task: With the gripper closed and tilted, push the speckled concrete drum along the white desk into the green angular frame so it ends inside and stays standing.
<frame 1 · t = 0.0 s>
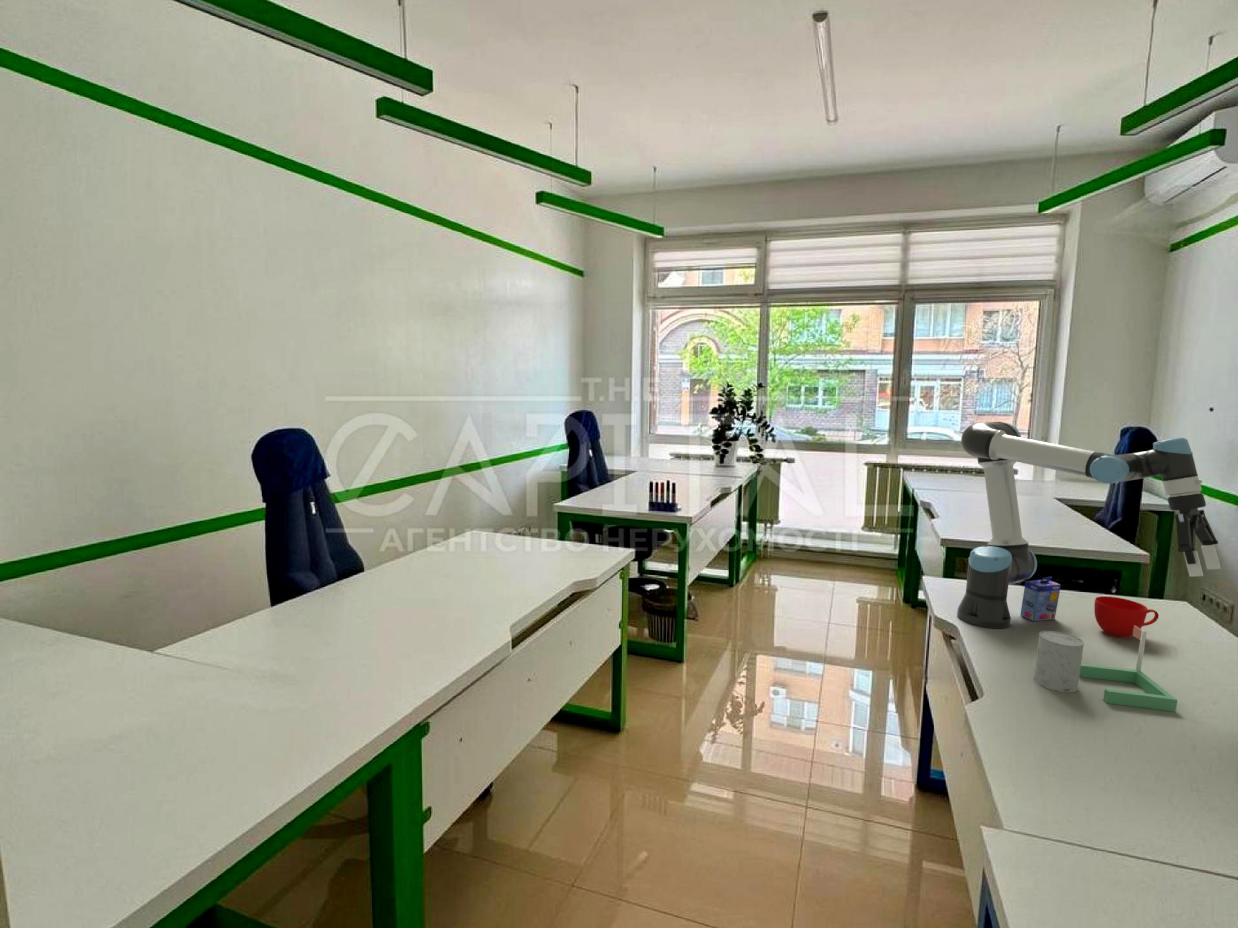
hand: (1205, 572, 172), 28 cm above the table, tool tilted 20°, fingers open, 13 cm apart
green angular frame: (1121, 691, 162), on the table
ceramic cup: (1123, 635, 200), on the table
ink cartridge box: (1037, 618, 213), on the table, touching arm
speckled concrete drum: (1055, 684, 166), on the table
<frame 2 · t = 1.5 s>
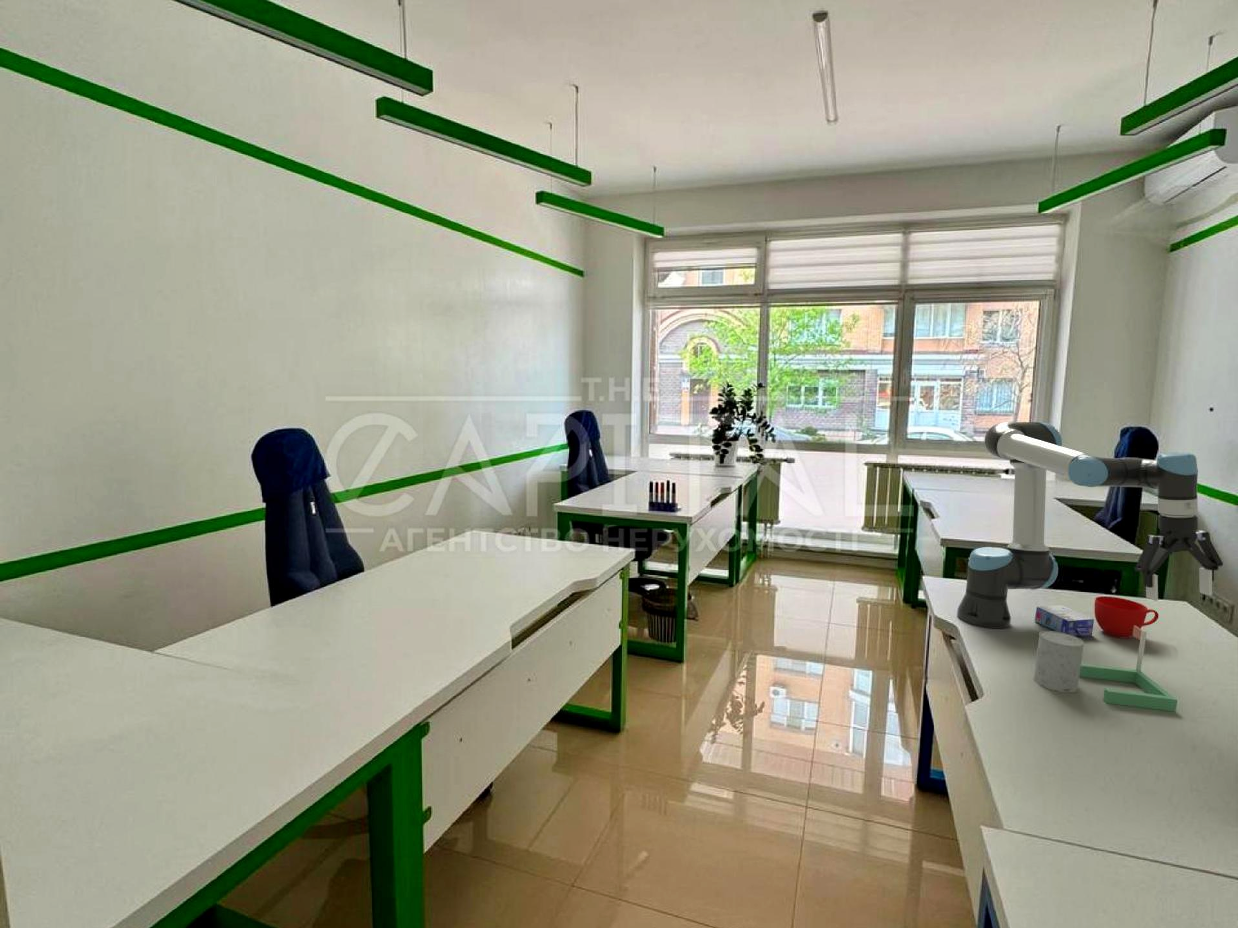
hand: (1178, 596, 163), 24 cm above the table, tool pointing down, fingers open, 13 cm apart
ink cartridge box: (1047, 613, 209), point 3 cm above the table
everything else where it was.
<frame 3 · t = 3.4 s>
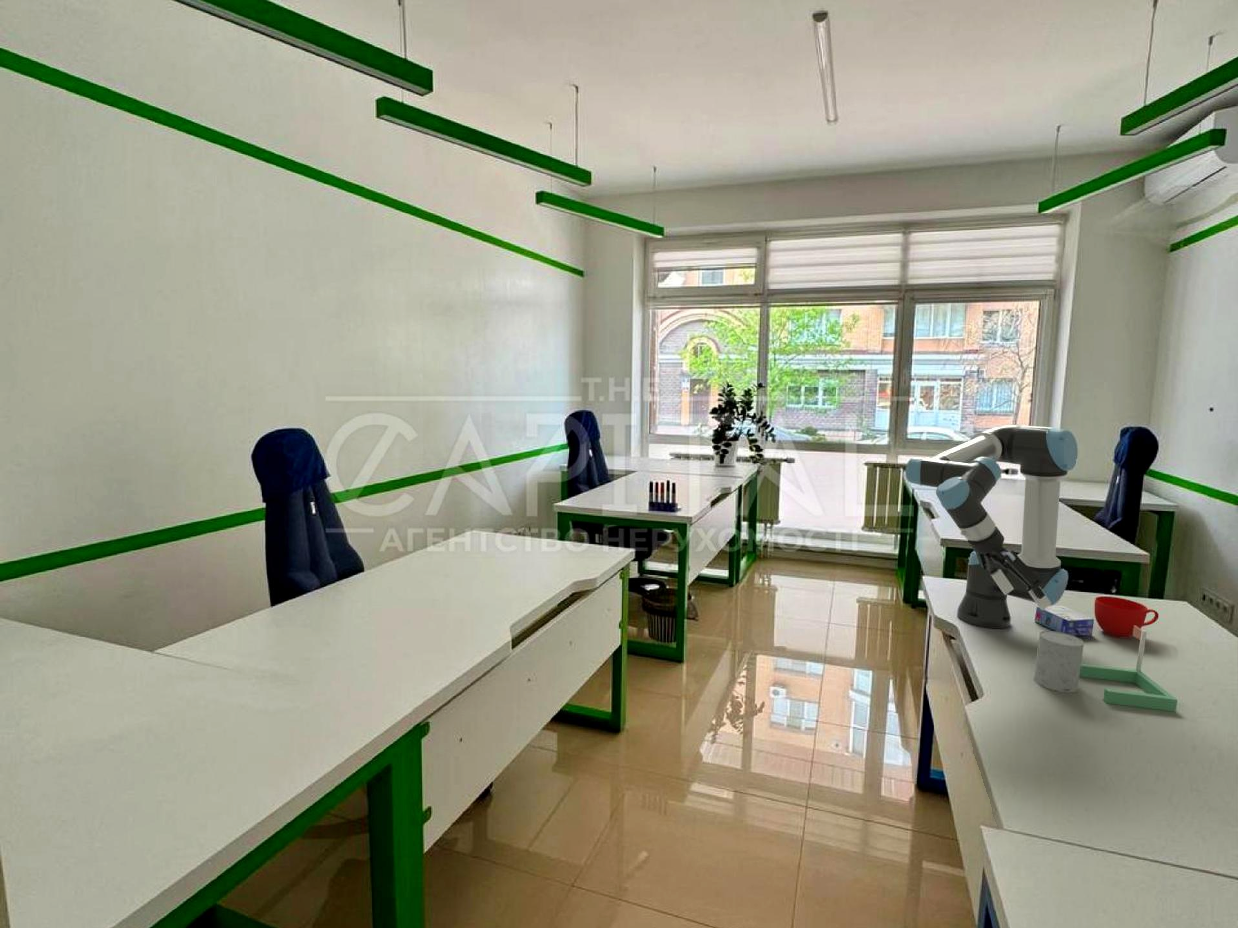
hand: (1026, 598, 163), 22 cm above the table, tool tilted 40°, fingers open, 13 cm apart
nothing on the table moved.
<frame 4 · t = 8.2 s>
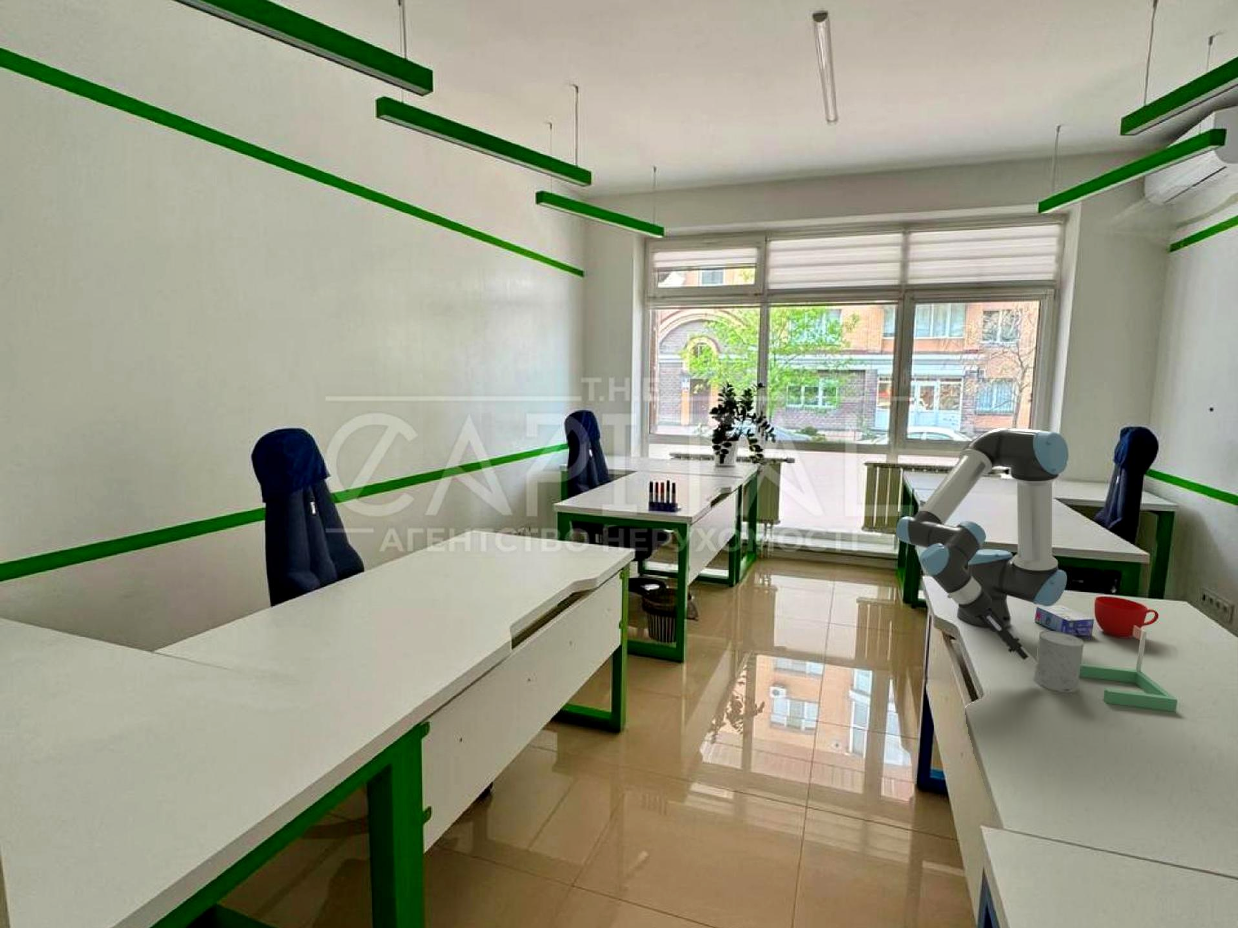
hand: (1032, 665, 166), 4 cm above the table, tool tilted 45°, fingers closed
speckled concrete drum: (1055, 684, 166), on the table, touching gripper
everything else where it was.
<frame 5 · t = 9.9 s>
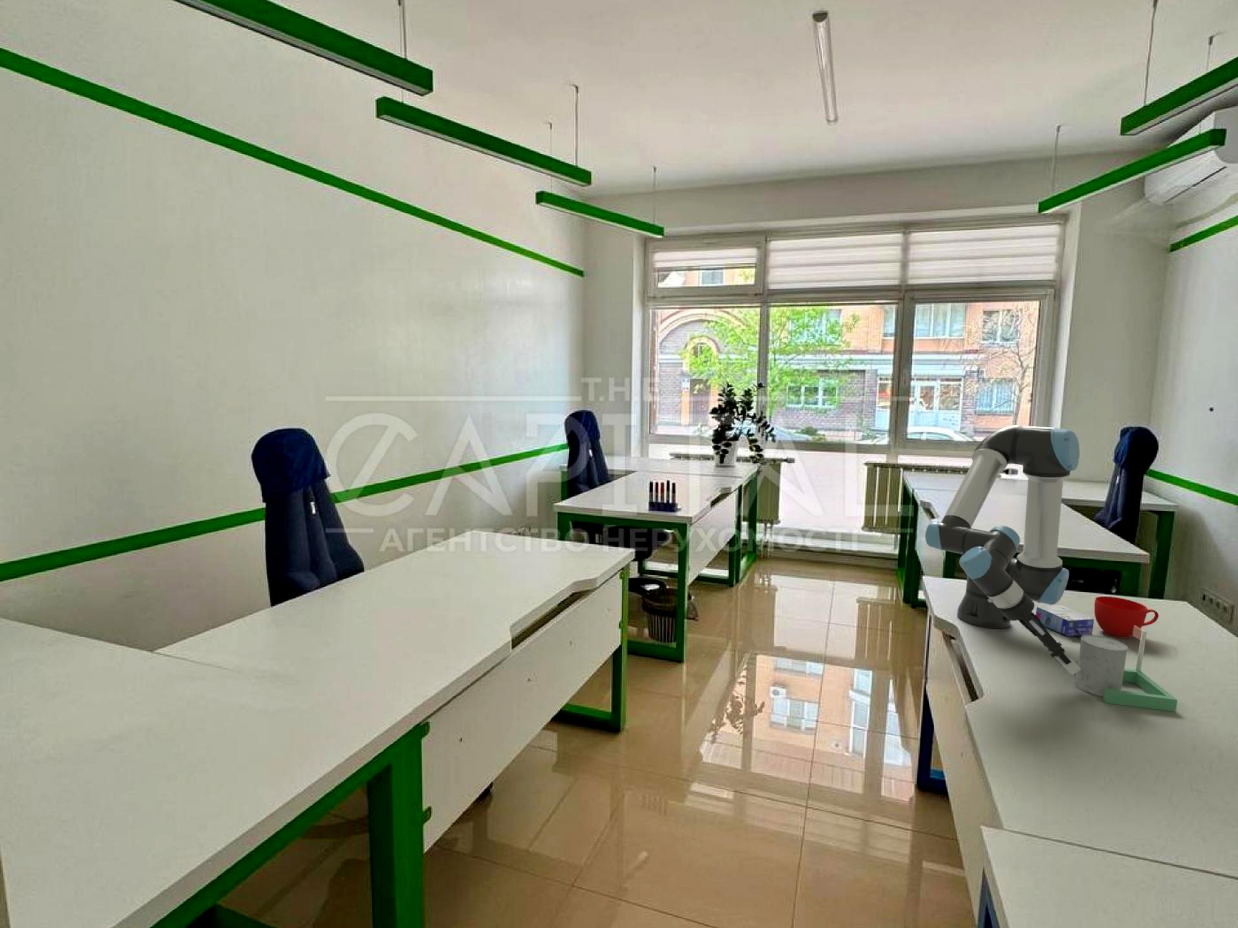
hand: (1075, 670, 163), 4 cm above the table, tool tilted 45°, fingers closed
speckled concrete drum: (1097, 688, 164), on the table, touching gripper
everything else where it was.
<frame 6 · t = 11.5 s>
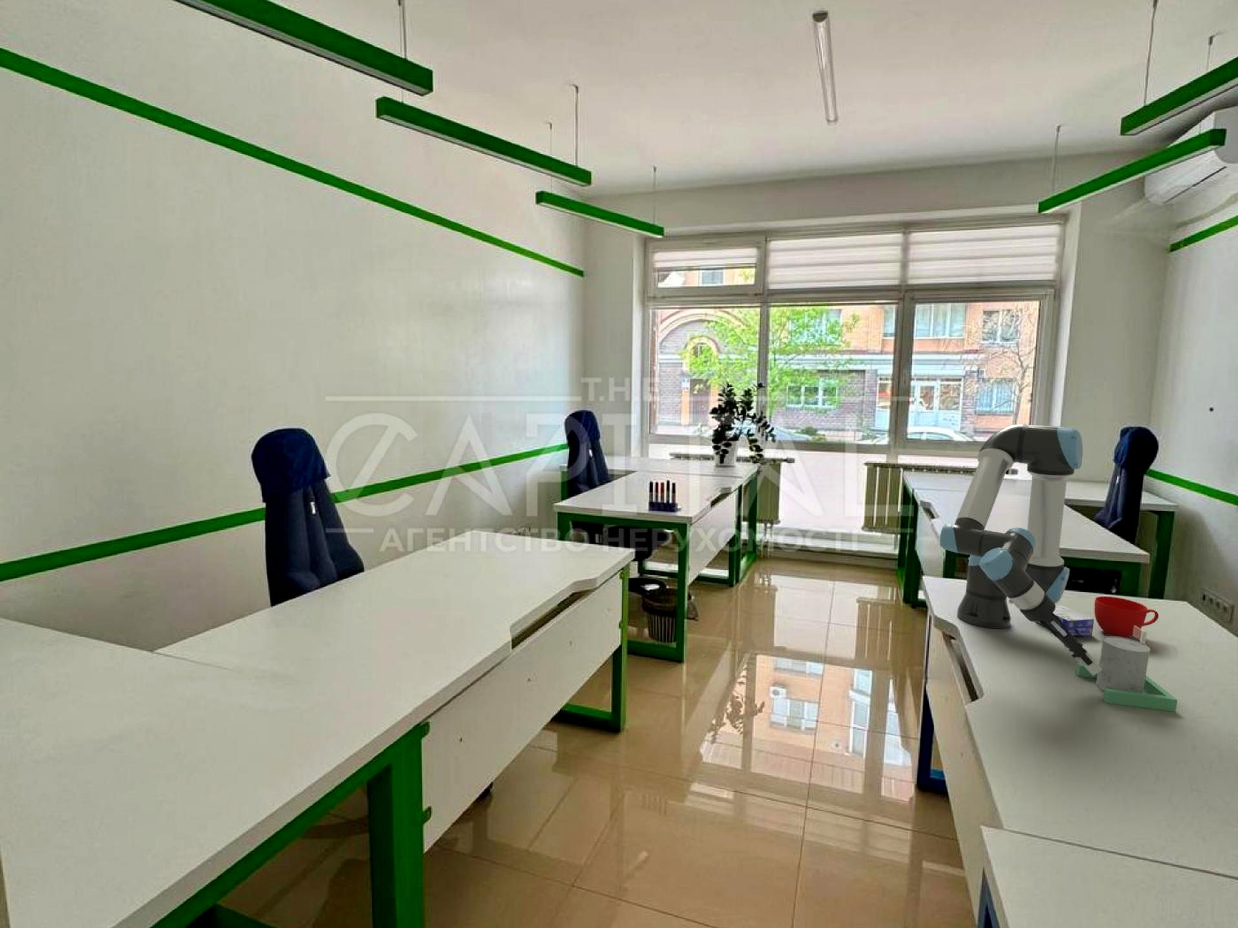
hand: (1096, 671, 163), 5 cm above the table, tool tilted 45°, fingers closed
speckled concrete drum: (1118, 690, 163), on the table, touching gripper
everything else where it was.
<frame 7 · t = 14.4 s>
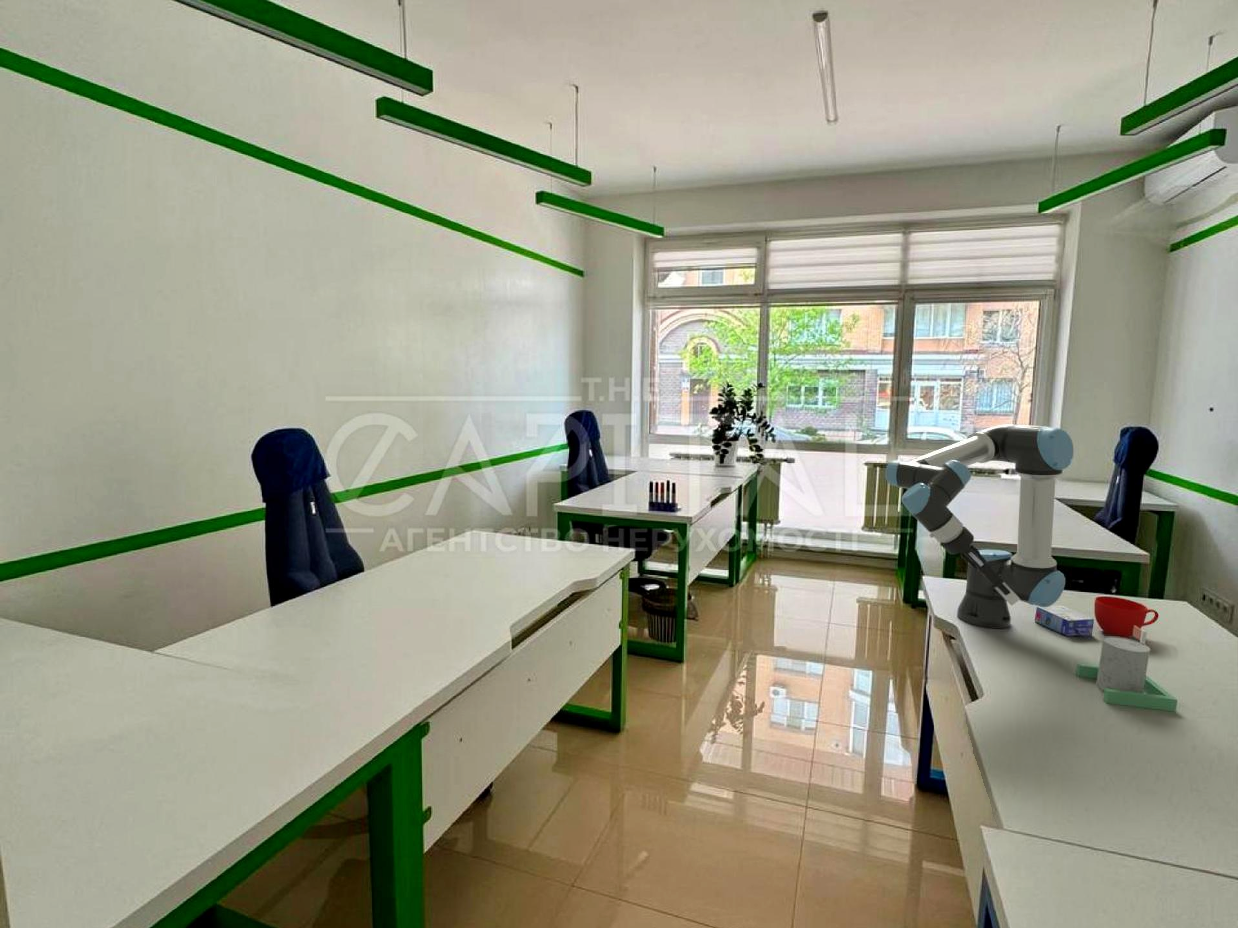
hand: (1014, 601, 167), 20 cm above the table, tool tilted 45°, fingers closed
speckled concrete drum: (1118, 690, 163), on the table
everything else where it was.
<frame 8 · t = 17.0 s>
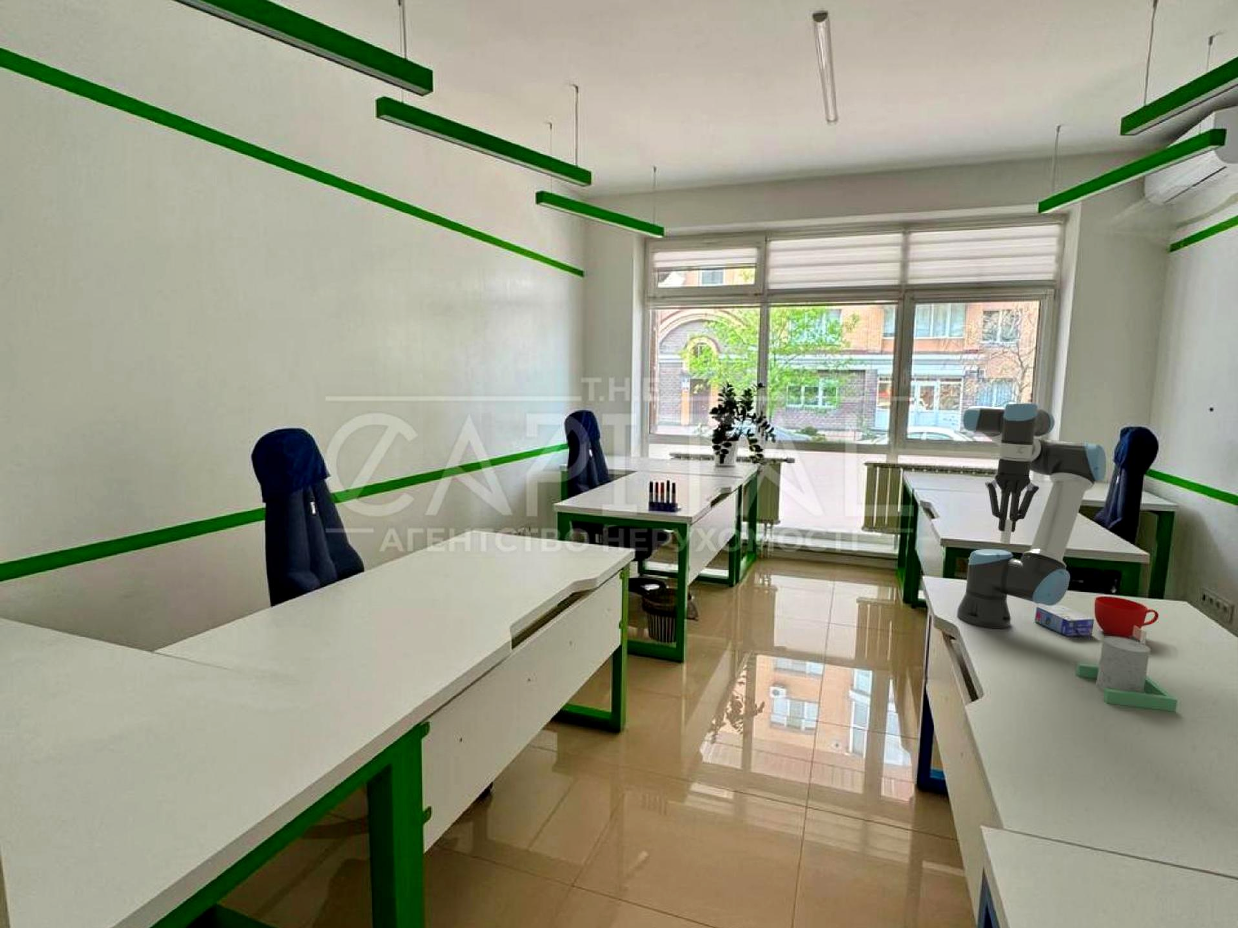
hand: (1004, 542, 179), 32 cm above the table, tool pointing down, fingers closed
nothing on the table moved.
at the end: speckled concrete drum inside the target area on the green angular frame (0.9 cm from its centre), point 0.0 cm above the green angular frame's base; speckled concrete drum tilted 0° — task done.
